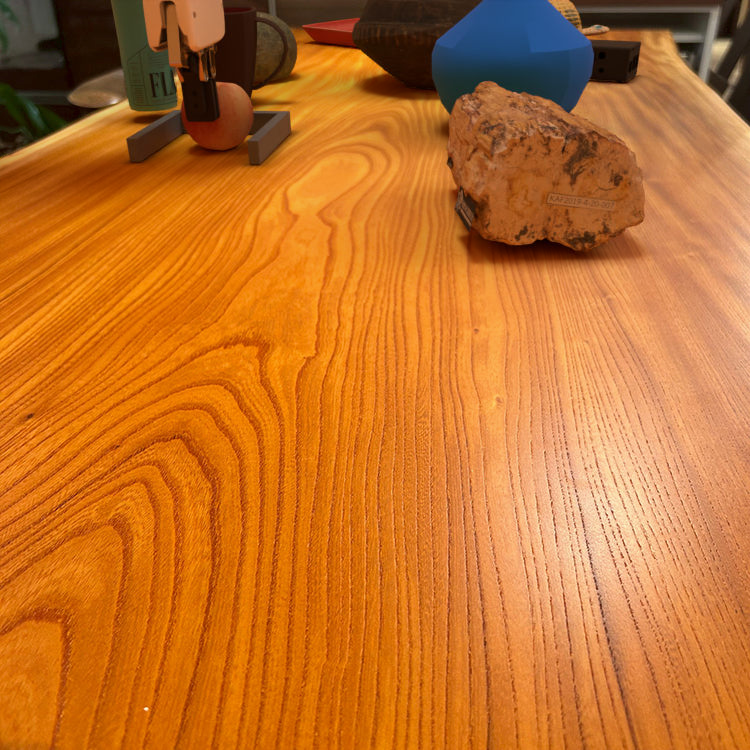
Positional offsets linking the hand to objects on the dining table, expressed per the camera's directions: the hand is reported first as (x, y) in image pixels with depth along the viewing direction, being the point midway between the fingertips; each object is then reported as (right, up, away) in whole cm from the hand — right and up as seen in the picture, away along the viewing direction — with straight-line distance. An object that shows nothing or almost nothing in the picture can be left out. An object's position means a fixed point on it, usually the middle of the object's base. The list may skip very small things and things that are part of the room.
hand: (203, 119), depth 81 cm
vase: (+34, +2, +12) cm, 36 cm away
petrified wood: (+31, -14, -15) cm, 37 cm away
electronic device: (+53, +20, +40) cm, 69 cm away
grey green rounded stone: (-2, +22, +45) cm, 50 cm away
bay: (0, -1, +7) cm, 7 cm away
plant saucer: (+15, +43, +80) cm, 92 cm away
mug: (-1, +11, +28) cm, 30 cm away
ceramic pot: (+27, +18, +38) cm, 49 cm away
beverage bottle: (-11, +7, +20) cm, 24 cm away
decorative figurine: (+50, +33, +63) cm, 87 cm away
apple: (+1, -1, +7) cm, 7 cm away
